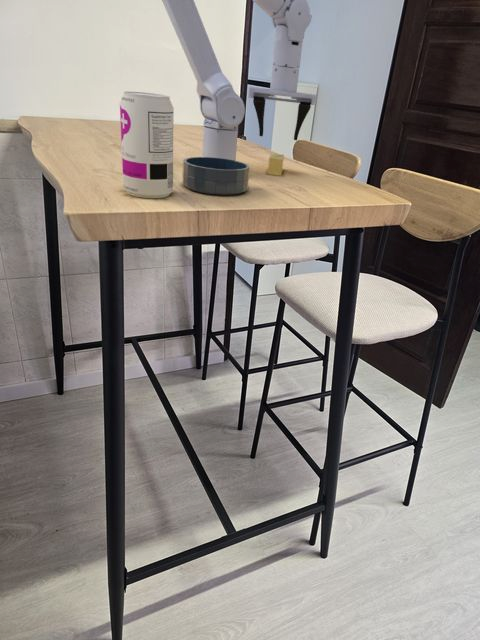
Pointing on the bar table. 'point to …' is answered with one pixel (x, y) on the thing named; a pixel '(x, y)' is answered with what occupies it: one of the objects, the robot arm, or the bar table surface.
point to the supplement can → (147, 144)
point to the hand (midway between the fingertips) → (278, 137)
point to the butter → (275, 164)
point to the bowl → (215, 175)
